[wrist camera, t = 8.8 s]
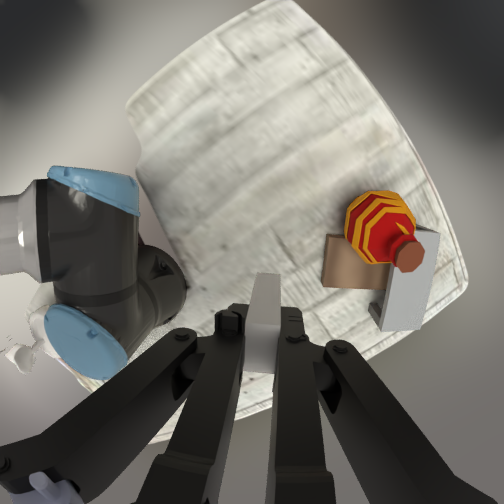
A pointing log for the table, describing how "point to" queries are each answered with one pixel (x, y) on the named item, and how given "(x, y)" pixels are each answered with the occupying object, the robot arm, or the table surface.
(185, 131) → the table surface
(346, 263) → the panel
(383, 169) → the table surface
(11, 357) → the potted plant
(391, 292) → the shelf
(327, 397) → the robot arm
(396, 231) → the potion bottle
